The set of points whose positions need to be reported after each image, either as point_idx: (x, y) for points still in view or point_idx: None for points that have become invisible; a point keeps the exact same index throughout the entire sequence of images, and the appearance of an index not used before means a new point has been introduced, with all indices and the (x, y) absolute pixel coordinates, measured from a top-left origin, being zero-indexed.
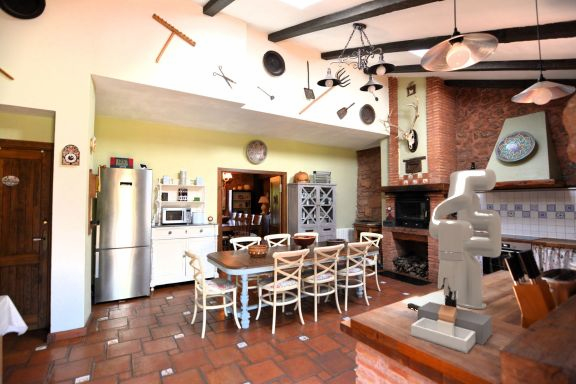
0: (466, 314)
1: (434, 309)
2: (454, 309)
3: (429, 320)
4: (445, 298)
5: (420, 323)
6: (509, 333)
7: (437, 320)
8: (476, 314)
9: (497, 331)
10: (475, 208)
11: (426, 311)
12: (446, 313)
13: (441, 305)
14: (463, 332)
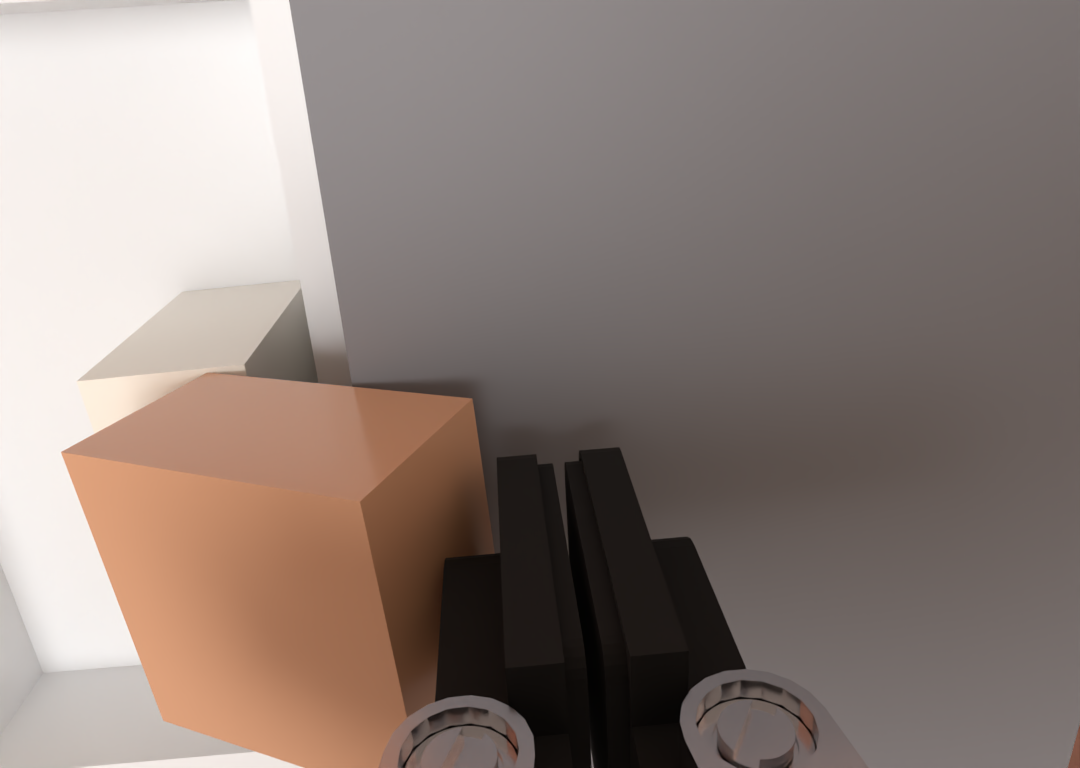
0: (818, 664)
1: (622, 102)
2: (355, 763)
3: (269, 112)
4: (411, 733)
5: (22, 4)
6: (1073, 759)
7: (101, 379)
8: (957, 751)
9: None
10: None
11: (289, 1)
12: (163, 612)
13: (321, 497)
14: None
